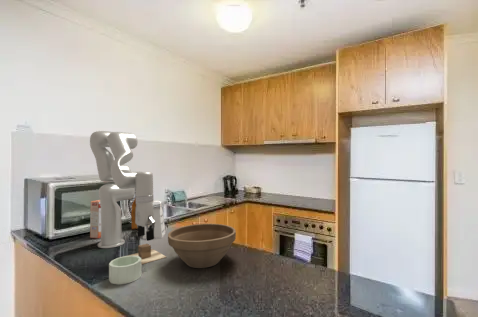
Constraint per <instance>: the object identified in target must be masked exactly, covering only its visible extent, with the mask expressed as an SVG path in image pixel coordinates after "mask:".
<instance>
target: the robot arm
mask: <svg viewBox="0 0 478 317" xmlns="http://www.w3.org/2000/svg"><path fill="white" fill-rule="evenodd" d="M89 146H90V148H91V149H90V150H91V152H92V154H93V156H94V158H95V163H96V168H97V173H98V174H97V175H98V178H99V180H100V182H103V183H106V184H103V185H102V186H100V187H99V189H98V197H99V200H100V204H101V238H100V242H98V243H97V247H98V248H100V249H113V248H116V247H120V246H122V245H124V244H125V243H126V242H125V239H123V238H122V208H121V206H120V205H119V204H118V202H121V201H128V200H129V201H130V200H132V199H133V198H134V197H135V198H136V211H135V223H136V224H137V229H136V230H137V232H136V233H137V237H138V238H139V237H143V236H144V235H145V227H144V226H146V229H147V231H146V239H145V240H146V242H149V241H152V240H154V239H155V238H154V227H155V226H154V225H155V221H154V211H153V208H154V205H153V203H155V202H154V201H155V200H154V176H153V173H152V172H151V171H131V169H130V167H129V166H128V165H127V163H129V162H131V160H133V157H134V153H133V151H132V150H133V149H135V148H137V146H138V138H137V136H136V135H135V133H132V132H123V131H106V130H105V131H104V130H98V131H97V130H96V131H93V132H92V133H91V134H90V137H89ZM108 148H110V150H111V151H110V150H109V149H108ZM148 226H149V227H148Z"/></svg>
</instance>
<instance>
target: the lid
mask: <svg viewBox="0 0 478 317" xmlns="http://www.w3.org/2000/svg"><path fill="white" fill-rule="evenodd" d="M137 247H138V248H137V250H138V252H137V253H133V254H128V255H127V256H132V255H133V256H139V257H141V260H142V266H143V265H146V264H150V263H154V262H157V261H160V260H163V259H167V256H166V255H164V254H162V253H161V252H159V251H157V250H155V249H154V248H152V245H151V244H148V243H144V244H139V245H138V246H137Z"/></svg>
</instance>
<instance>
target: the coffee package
mask: <svg viewBox="0 0 478 317" xmlns="http://www.w3.org/2000/svg"><path fill="white" fill-rule="evenodd" d="M135 211H136V197H135V198H134V200H133V201H132V204H131V214H130V217H131V230H137V224H136V223H135Z"/></svg>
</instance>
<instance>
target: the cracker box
mask: <svg viewBox="0 0 478 317" xmlns="http://www.w3.org/2000/svg"><path fill="white" fill-rule="evenodd" d="M89 218H90V222H89V224H90V226H89V229H90V230H89V238H90V239H101V204H100V199H97V200H91V201H90V215H89Z"/></svg>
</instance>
